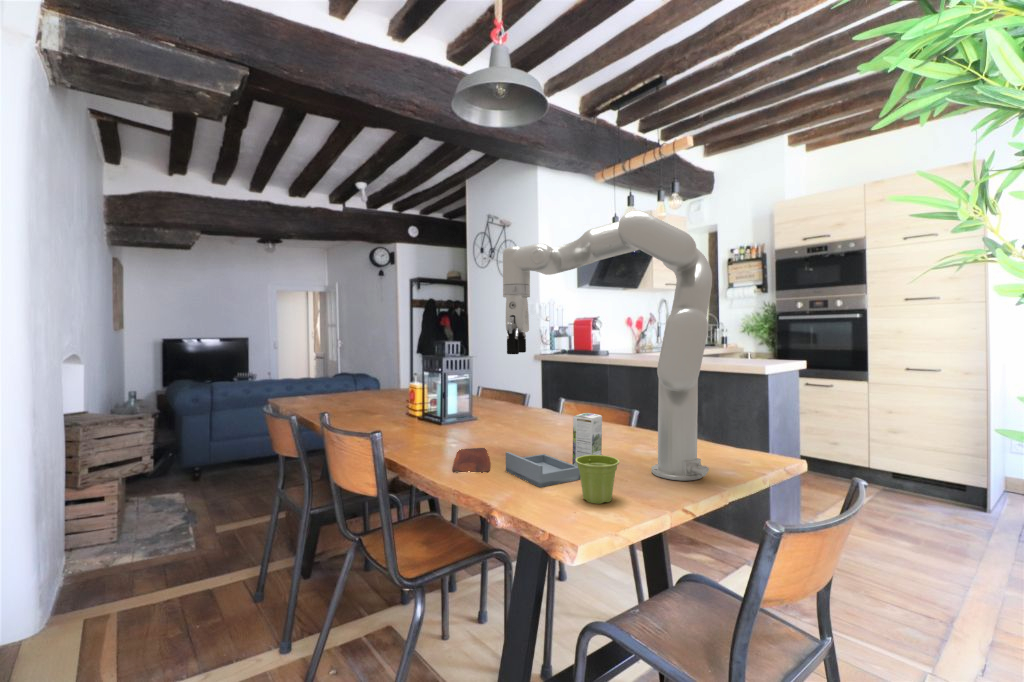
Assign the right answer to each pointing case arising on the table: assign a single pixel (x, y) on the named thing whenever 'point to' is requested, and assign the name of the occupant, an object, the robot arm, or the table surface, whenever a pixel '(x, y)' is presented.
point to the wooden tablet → (472, 460)
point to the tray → (541, 469)
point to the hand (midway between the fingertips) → (516, 353)
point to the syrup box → (586, 435)
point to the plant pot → (597, 477)
